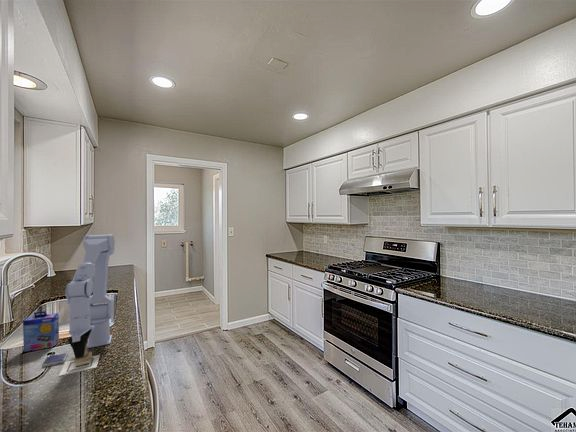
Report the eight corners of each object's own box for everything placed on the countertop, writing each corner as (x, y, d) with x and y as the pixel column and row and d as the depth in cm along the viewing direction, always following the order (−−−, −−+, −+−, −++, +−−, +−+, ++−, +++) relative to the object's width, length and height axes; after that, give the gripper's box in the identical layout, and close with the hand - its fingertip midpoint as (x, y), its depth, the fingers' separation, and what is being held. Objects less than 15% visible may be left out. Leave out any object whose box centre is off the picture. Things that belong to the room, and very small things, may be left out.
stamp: (78, 361, 98) (75, 335, 97) (92, 357, 99) (89, 332, 99) (75, 367, 94) (72, 340, 94) (89, 363, 96) (86, 337, 95)
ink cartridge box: (22, 352, 107) (21, 314, 107) (29, 346, 112) (28, 310, 112) (54, 347, 111) (54, 310, 111) (59, 341, 116) (59, 306, 116)
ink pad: (47, 359, 100) (47, 356, 100) (67, 355, 103) (67, 352, 103) (41, 367, 95) (41, 364, 95) (64, 362, 98) (64, 359, 98)
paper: (65, 362, 98) (65, 361, 98) (100, 355, 103) (99, 354, 103) (58, 376, 89) (58, 375, 89) (96, 367, 94) (96, 367, 94)
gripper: (90, 319, 92) (91, 361, 92) (96, 307, 104) (97, 344, 104) (63, 324, 88) (64, 367, 88) (73, 311, 101) (73, 348, 101)
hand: (80, 355), depth 96 cm, fingers closed on stamp, 3 cm apart
